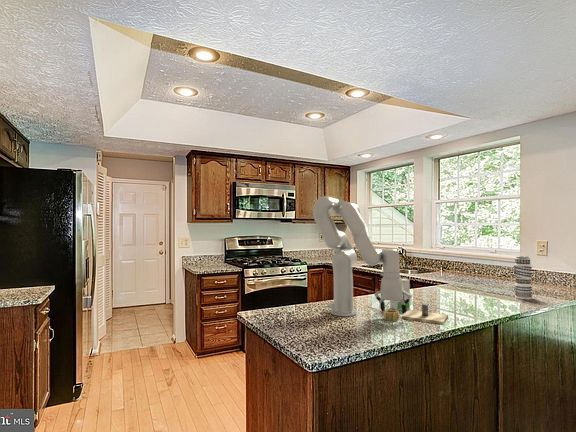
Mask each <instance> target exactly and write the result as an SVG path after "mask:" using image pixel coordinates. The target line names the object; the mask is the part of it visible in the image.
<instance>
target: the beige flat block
mask: <svg viewBox="0 0 576 432" xmlns="http://www.w3.org/2000/svg"><path fill="white" fill-rule="evenodd" d="M448 318H449V314H446V313H445V314H442V313H437V312H429V304H427V303H422V304H421V310H414V309H413V310H412V309H410V310H406V312H405V313H404V314H403V315H401V319H402V320H409V321H416V322H417V321H418V322H423V323H429V322H430V324H439V325H444V324H445V323H446V321H447V320H448Z"/></svg>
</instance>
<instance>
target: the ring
mask: <svg viewBox="0 0 576 432" xmlns="http://www.w3.org/2000/svg"><path fill="white" fill-rule="evenodd" d="M383 319H384V320H386V321H391V322H392V321H393V322H394V321H399V320H400V310H394V309H385V310H384V311H383Z"/></svg>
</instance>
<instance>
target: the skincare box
mask: <svg viewBox="0 0 576 432" xmlns="http://www.w3.org/2000/svg"><path fill="white" fill-rule="evenodd" d="M401 279H402V283H403V288H404V291H405V292H407V293H409V294H410V295H411V293H410V292H411V289H410V286H411V284H410V281H411V280H410V279H408V278H401ZM407 298H408V297H407V296H406V295H404V299H405V300H407ZM389 301H390V303H389V306H390V309H391V310H397V311H402V305H403V304H402V303H401V301H392V300H389ZM410 302H411V300H410V301H409V302H408V303H407V304H406V311H409V310H411V303H410Z"/></svg>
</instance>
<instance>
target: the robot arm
mask: <svg viewBox="0 0 576 432" xmlns="http://www.w3.org/2000/svg"><path fill="white" fill-rule="evenodd" d="M360 213H361V209H360V206H359V205H358V204H356V203H353V202H350V201H347V200H343V199H340V198H336V197H332V196H328V195H327V196H325V195H323V196H321V197H319V198H317V199H316V201H315V203H314V205H313V207H312V217H313V219H314V221H315V223H316V226H317V227H318V228H317V229H318V230H319V232H320V234H321V236H322V239H323V240H324V243H325V245H326V246H327V247H328V248H329V249H331V250H334V251H335V253H334V255H333V256H332V259H331V261H332V262H331V264H332V271H333V272H332V273H333V303H331V302H327V304H326V307H327V308H328V309H329V308H330V314H332V315H333V316H338V317H352V316H356V315H357V310H356V309H354V277H353V269H352V268H353V266H354V265H355V264H356V263H357V259H358V257H357V254H356V250H357V251H358V253H359V255H360V258H362V261H364V263H365V264H366V265H368V266H372V267H373V266H376V265H378V264H382V272H379V273H380V276H381V277H382V278H381V281H380V290H378V291H376V292H374V293H373V294H374V297H375V299H376V300H377V301H378V302H379V305H380V306H379V307H380V311H381V312H382V313H384V310H386V304H385V301H390V300H392V301H401V303H402V304H403V305H402V310H401V314H403V315H404V314H405V313H406V312H407V310H406V304H407V303H408V302H409V301H410V302H411V298H412V294H411V293H410V294H409V293H407V292H405V291H404V288H403V283H402V279H403V278H401V270H400V255H399V250H398V249H397V248H387V249H386V248H385V249H381V248H375V246H374V244H373V243H372V241H371V239H370V236H369V228H368V225H367V223H366V222H365V220H364V218H363V217H362V216H361V214H360ZM331 214H332V215H336V216H339V217H341V218H342V220H343V222H344V223H345V225H346V228H347V229H348V231H349V232H350V234H351V237H352V239H353V243H354V245H355V248H356V250H355V249H354V247H353V244H352V242H351V240H350V239H349V237H348V235H347V234H346V233H345V232H344V231H342V230H339V229H338V228H337V226H336V223H335V221H334V219H333V218H332V217H331ZM379 294H380V296H379ZM404 295H406V296H407V297H408V298H407V300H405V299H404Z"/></svg>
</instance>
